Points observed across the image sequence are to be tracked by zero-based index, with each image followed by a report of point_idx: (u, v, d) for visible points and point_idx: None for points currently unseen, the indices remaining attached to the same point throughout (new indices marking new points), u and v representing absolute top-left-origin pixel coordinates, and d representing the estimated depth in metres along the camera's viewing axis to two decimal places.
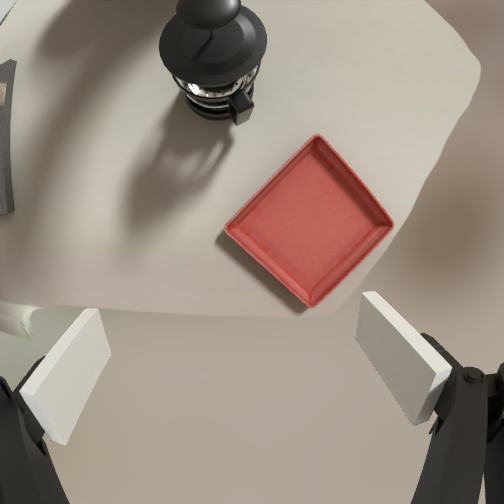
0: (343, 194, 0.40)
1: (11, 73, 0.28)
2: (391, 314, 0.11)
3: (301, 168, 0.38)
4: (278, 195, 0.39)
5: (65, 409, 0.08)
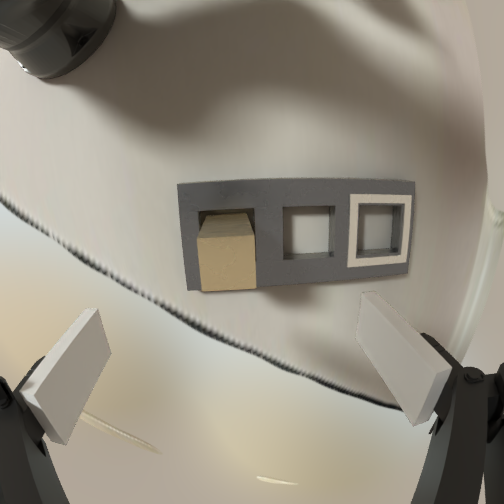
0: None
1: None
2: (391, 314, 0.11)
3: None
4: None
5: (65, 409, 0.08)
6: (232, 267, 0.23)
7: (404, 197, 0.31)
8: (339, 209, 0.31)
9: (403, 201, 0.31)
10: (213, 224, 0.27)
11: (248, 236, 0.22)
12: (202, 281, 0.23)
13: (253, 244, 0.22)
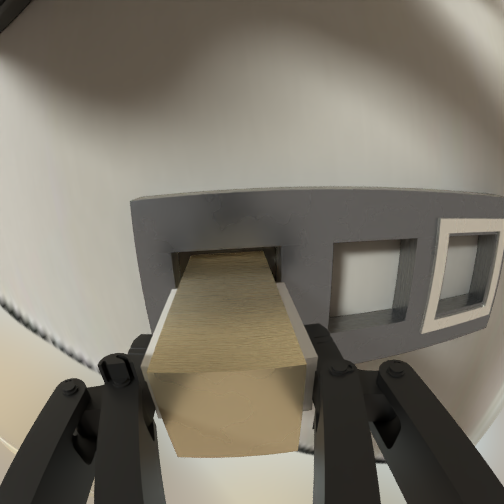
0: None
1: (182, 194, 0.16)
2: (285, 303, 0.13)
3: None
4: None
5: None
6: (245, 427, 0.08)
7: (500, 222, 0.16)
8: (422, 244, 0.17)
9: (499, 228, 0.16)
10: (198, 294, 0.12)
11: (290, 368, 0.07)
12: (176, 445, 0.08)
13: (301, 383, 0.08)
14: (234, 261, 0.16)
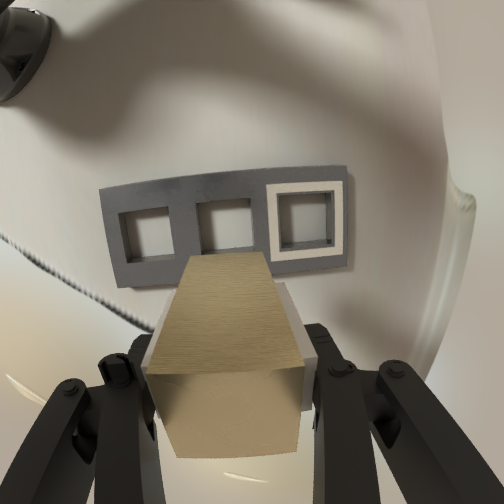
0: None
1: None
2: (285, 303, 0.13)
3: None
4: None
5: None
6: (243, 427, 0.08)
7: (333, 183, 0.31)
8: (255, 201, 0.31)
9: (332, 188, 0.31)
10: (197, 295, 0.12)
11: (288, 370, 0.07)
12: (175, 445, 0.08)
13: (300, 385, 0.08)
14: (233, 262, 0.16)
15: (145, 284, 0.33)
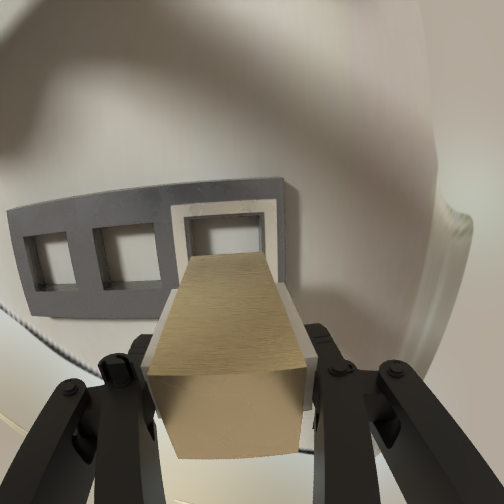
0: None
1: (28, 205, 0.23)
2: (285, 303, 0.13)
3: None
4: None
5: None
6: (245, 429, 0.08)
7: (262, 203, 0.23)
8: (159, 227, 0.24)
9: (261, 209, 0.24)
10: (198, 296, 0.12)
11: (290, 371, 0.07)
12: (176, 446, 0.08)
13: (302, 386, 0.08)
14: (234, 262, 0.16)
15: (54, 315, 0.25)
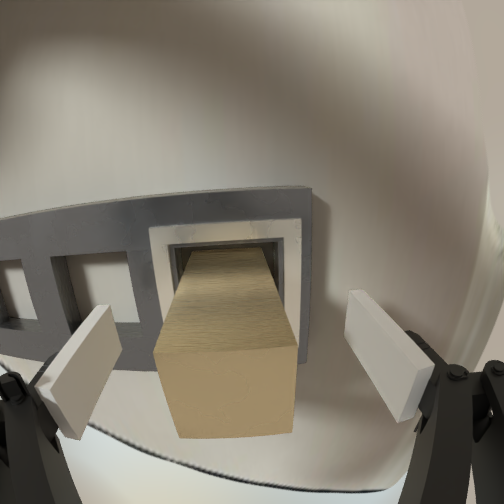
0: None
1: None
2: (377, 311, 0.11)
3: None
4: None
5: (79, 404, 0.08)
6: (242, 406, 0.09)
7: (281, 224, 0.16)
8: (134, 258, 0.16)
9: (279, 233, 0.16)
10: (199, 286, 0.13)
11: (283, 349, 0.08)
12: (178, 425, 0.09)
13: (293, 364, 0.09)
14: (233, 256, 0.17)
15: (21, 356, 0.18)
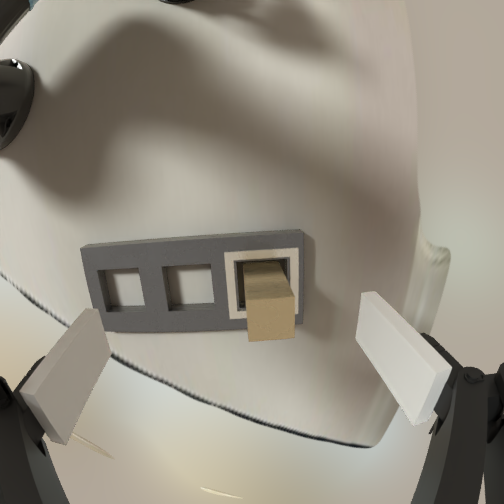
0: None
1: (100, 244, 0.34)
2: (391, 314, 0.11)
3: None
4: None
5: (65, 409, 0.08)
6: (275, 322, 0.26)
7: (289, 250, 0.34)
8: (215, 267, 0.34)
9: (288, 254, 0.34)
10: (253, 279, 0.31)
11: (290, 297, 0.26)
12: (249, 334, 0.27)
13: (293, 304, 0.26)
14: (265, 266, 0.35)
15: (122, 330, 0.36)
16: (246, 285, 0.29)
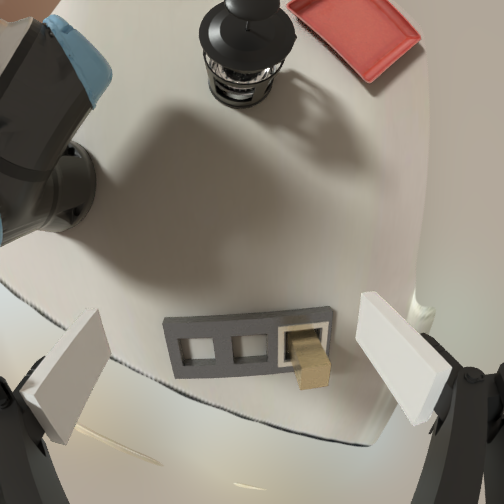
0: None
1: (179, 319, 0.46)
2: (391, 314, 0.11)
3: (313, 23, 0.34)
4: (336, 42, 0.35)
5: (65, 409, 0.08)
6: (317, 378, 0.39)
7: (322, 323, 0.47)
8: (270, 335, 0.47)
9: (321, 326, 0.47)
10: (301, 348, 0.43)
11: (328, 365, 0.39)
12: (301, 386, 0.40)
13: (330, 368, 0.39)
14: (305, 333, 0.47)
15: (195, 377, 0.48)
16: (297, 354, 0.42)
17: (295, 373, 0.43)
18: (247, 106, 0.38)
